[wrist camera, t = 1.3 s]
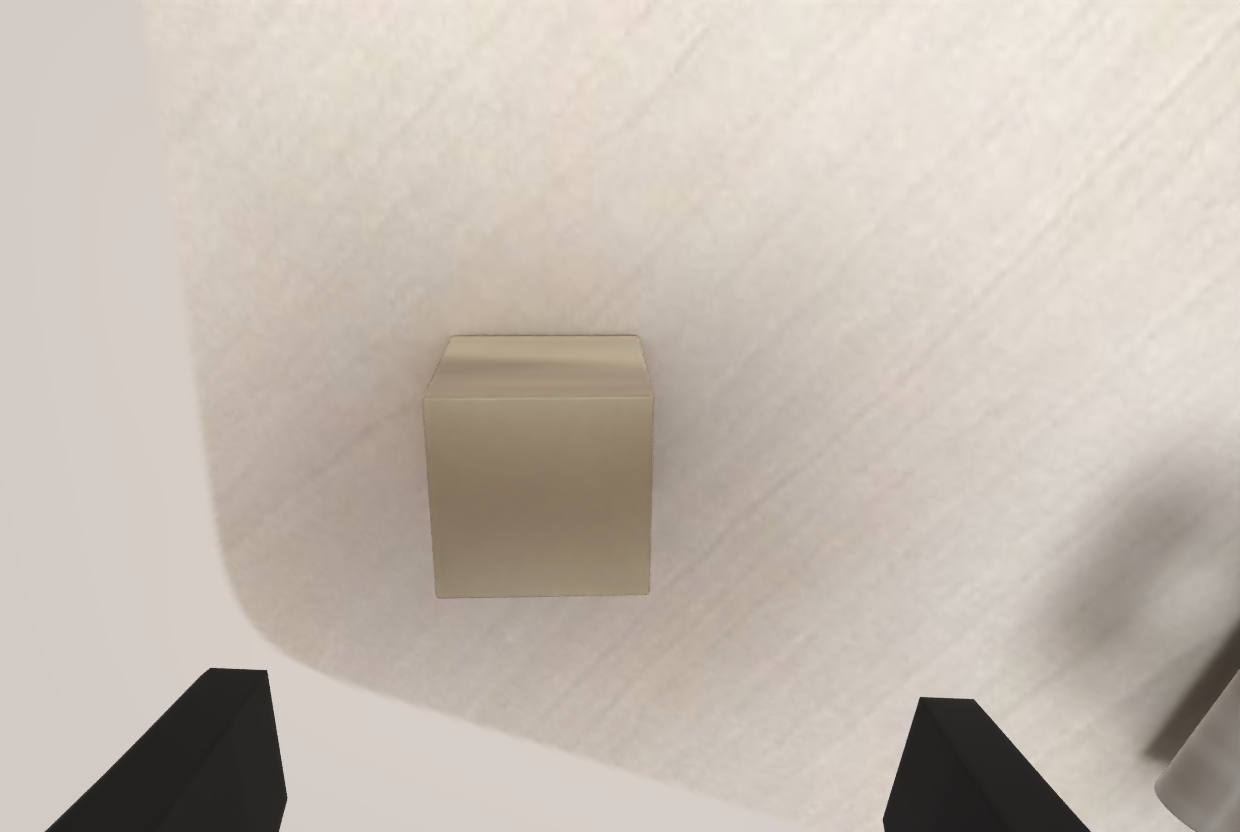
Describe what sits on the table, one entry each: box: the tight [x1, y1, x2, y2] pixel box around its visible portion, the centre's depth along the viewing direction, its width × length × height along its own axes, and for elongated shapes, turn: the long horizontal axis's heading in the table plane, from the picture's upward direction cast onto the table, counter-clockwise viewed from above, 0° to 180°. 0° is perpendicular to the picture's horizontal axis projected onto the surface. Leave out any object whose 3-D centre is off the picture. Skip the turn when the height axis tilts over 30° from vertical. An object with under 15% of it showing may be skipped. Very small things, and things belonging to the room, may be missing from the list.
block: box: [422, 336, 654, 598], centre depth 18 cm, size 4×4×4 cm
